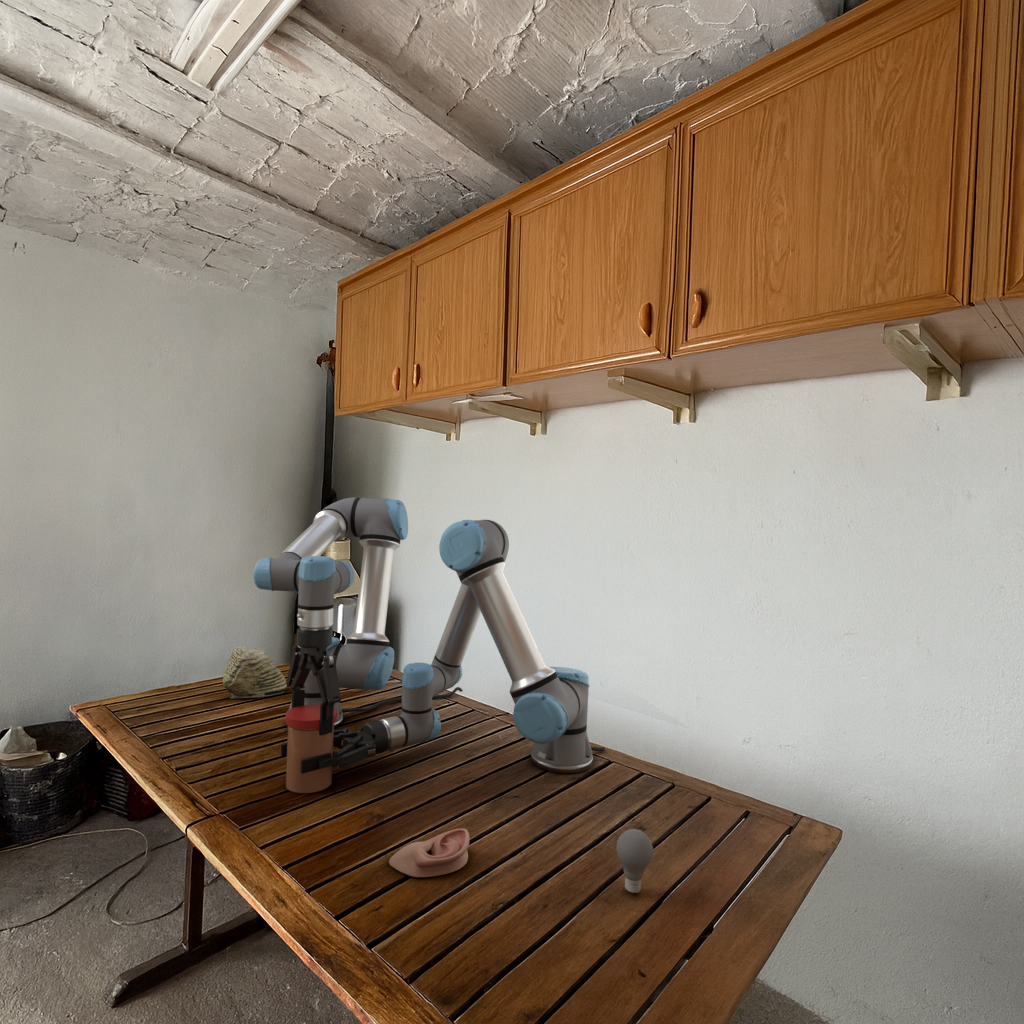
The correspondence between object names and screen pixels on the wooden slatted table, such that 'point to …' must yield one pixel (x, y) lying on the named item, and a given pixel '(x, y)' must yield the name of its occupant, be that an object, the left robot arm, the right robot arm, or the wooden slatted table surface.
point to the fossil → (252, 674)
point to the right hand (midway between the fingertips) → (291, 758)
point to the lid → (305, 717)
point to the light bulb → (634, 857)
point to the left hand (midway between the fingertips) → (311, 726)
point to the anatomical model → (433, 855)
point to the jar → (304, 747)
